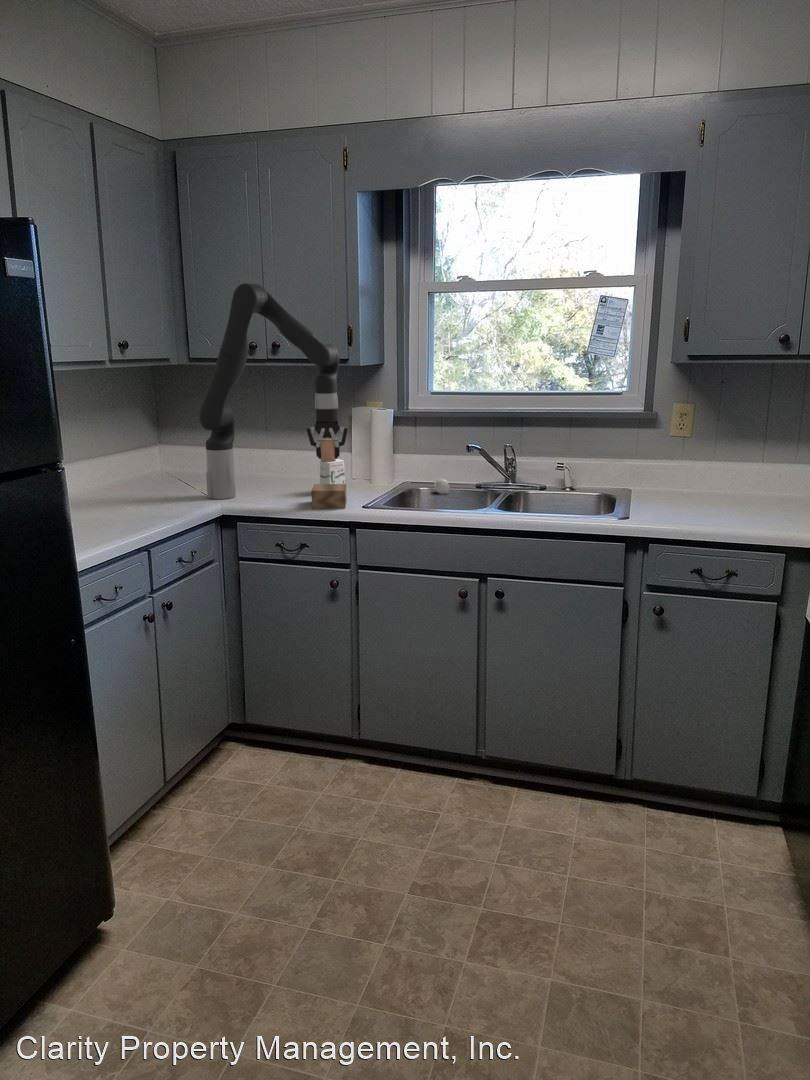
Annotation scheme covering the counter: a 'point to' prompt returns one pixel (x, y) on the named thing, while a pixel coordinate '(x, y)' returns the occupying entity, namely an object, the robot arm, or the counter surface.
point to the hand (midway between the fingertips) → (328, 458)
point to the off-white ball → (442, 486)
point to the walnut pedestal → (328, 496)
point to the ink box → (332, 472)
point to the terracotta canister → (327, 450)
